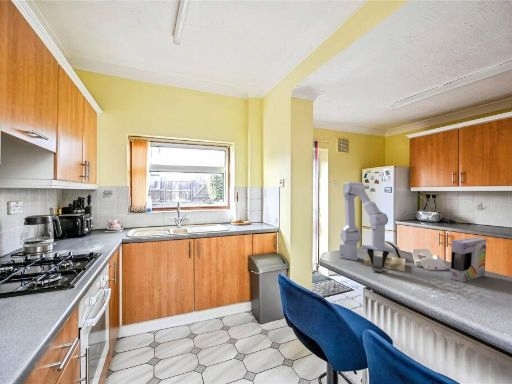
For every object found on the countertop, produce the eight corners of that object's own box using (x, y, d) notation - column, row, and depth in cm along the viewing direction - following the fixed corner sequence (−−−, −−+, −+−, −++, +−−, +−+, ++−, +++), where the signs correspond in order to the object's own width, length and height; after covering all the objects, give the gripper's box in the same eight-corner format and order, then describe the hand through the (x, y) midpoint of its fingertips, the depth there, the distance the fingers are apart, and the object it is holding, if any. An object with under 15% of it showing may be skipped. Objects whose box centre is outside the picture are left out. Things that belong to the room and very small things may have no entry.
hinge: (406, 260, 135) (400, 243, 135) (398, 263, 136) (392, 246, 136) (390, 252, 152) (385, 237, 152) (383, 255, 152) (378, 240, 152)
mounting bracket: (439, 270, 125) (433, 249, 129) (448, 269, 119) (442, 247, 123) (416, 270, 125) (411, 249, 129) (424, 269, 119) (418, 247, 124)
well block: (364, 264, 128) (364, 259, 128) (368, 258, 139) (368, 253, 138) (404, 271, 118) (404, 265, 118) (405, 264, 129) (405, 258, 129)
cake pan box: (460, 283, 104) (461, 242, 103) (447, 278, 108) (448, 239, 108) (486, 277, 111) (487, 238, 111) (473, 273, 116) (474, 236, 115)
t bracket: (372, 270, 117) (372, 257, 117) (374, 266, 123) (374, 254, 123) (381, 271, 115) (381, 259, 115) (383, 267, 121) (383, 255, 121)
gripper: (360, 237, 119) (360, 265, 119) (394, 241, 111) (394, 270, 112) (363, 235, 125) (362, 261, 125) (395, 238, 117) (395, 266, 117)
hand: (377, 265), depth 119 cm, fingers closed on t bracket, 4 cm apart
